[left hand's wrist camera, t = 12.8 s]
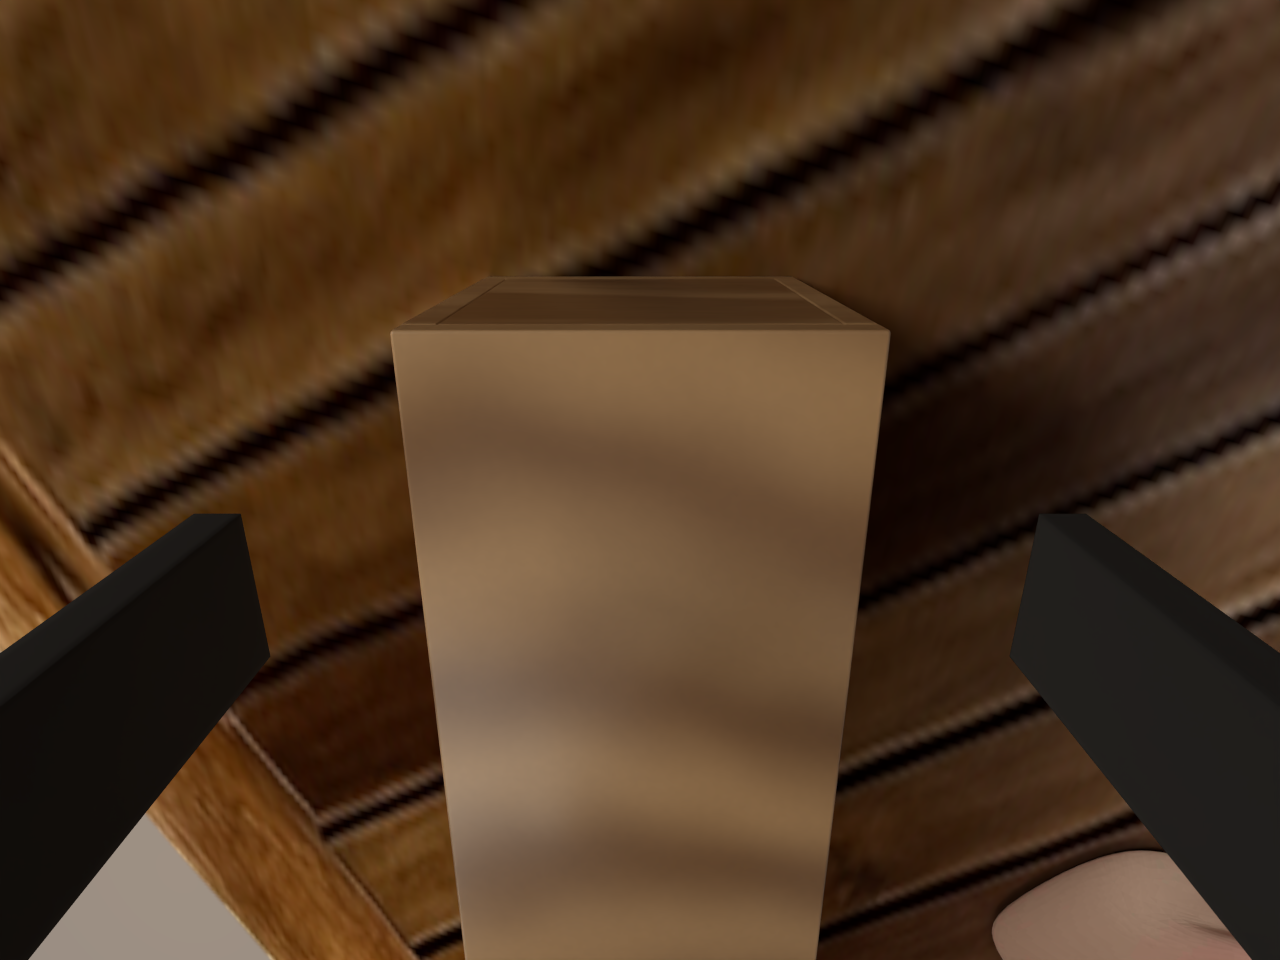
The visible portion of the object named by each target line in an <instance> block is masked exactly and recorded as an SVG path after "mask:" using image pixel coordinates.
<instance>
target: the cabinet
mask: <svg viewBox="0 0 1280 960" xmlns="http://www.w3.org/2000/svg"><path fill="white" fill-rule="evenodd" d="M390 335H391V344H392V352H393V360H394V369H395V377H396V385H397V394H398V402H399V410H400V419H401V427H402V435H403V444H404V452H405V460H406V469H407V477H408V485H409V494H410V502H411V510H412V519H413V527H414V535H415V544H416V552H417V560H418V569H419V577H420V585H421V594H422V602H423V611H424V619H425V627H426V636H427V644H428V652H429V661H430V669H431V677H432V686H433V694H434V702H435V711H436V719H437V727H438V736H439V744H440V752H441V761H442V769H443V777H444V786H445V794H446V802H447V811H448V819H449V827H450V836H451V844H452V852H453V861H454V869H455V877H456V886H457V894H458V903H459V911H460V919H461V928H462V936H463V944H464V953H465V960H816V955H817V947H818V939H819V930H820V922H821V913H822V905H823V897H824V888H825V880H826V871H827V863H828V855H829V846H830V838H831V830H832V821H833V813H834V804H835V796H836V788H837V779H838V771H839V763H840V754H841V746H842V737H843V729H844V721H845V712H846V704H847V696H848V687H849V679H850V670H851V662H852V654H853V645H854V637H855V629H856V620H857V612H858V603H859V595H860V587H861V578H862V570H863V561H864V553H865V545H866V536H867V528H868V520H869V511H870V503H871V494H872V486H873V478H874V469H875V461H876V453H877V444H878V436H879V427H880V419H881V411H882V402H883V394H884V386H885V377H886V369H887V360H888V352H889V344H890V335H891V333H890V330H888V329H886V328H884V327H883V326H881V325H879V324H877V323H875V322H873V321H871V320H870V319H868V318H866V317H864V316H862V315H861V314H859V313H857V312H855V311H853V310H852V309H850V308H848V307H846V306H844V305H843V304H841V303H839V302H837V301H835V300H834V299H832V298H830V297H828V296H826V295H825V294H823V293H821V292H819V291H817V290H816V289H814V288H812V287H810V286H808V285H807V284H805V283H803V282H801V281H799V280H798V279H796V278H794V277H792V276H630V277H487V278H485V279H482V280H481V281H479V282H477V283H475V284H473V285H472V286H470V287H468V288H466V289H464V290H463V291H461V292H459V293H457V294H455V295H454V296H452V297H450V298H448V299H446V300H445V301H443V302H441V303H439V304H437V305H436V306H434V307H432V308H430V309H428V310H427V311H425V312H423V313H421V314H419V315H418V316H416V317H414V318H412V319H410V320H409V321H407V322H405V323H403V324H402V325H401V326H399V327H397V328H395V329H393V330H392V331H391V333H390Z"/></svg>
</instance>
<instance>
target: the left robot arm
mask: <svg viewBox="0 0 1280 960" xmlns="http://www.w3.org/2000/svg"><path fill="white" fill-rule="evenodd" d="M269 657H270V652H269V648H268V643H267V638H266V633H265V628H264V624H263V619H262V614H261V609H260V604H259V600H258V595H257V590H256V585H255V580H254V576H253V571H252V566H251V561H250V556H249V551H248V547H247V542H246V537H245V532H244V527H243V523H242V518H241V514H193V515H192V516H190V517H189V518H188V519H186V520H185V521H183V522H182V523H181V524H179V525H178V526H176V527H175V528H174V529H172V530H171V531H169V532H168V533H167V534H165V535H164V536H163V537H161V538H160V539H158V540H157V541H156V542H154V543H153V544H151V545H150V546H149V547H147V548H146V549H144V550H143V551H142V552H140V553H139V554H138V555H136V556H135V557H133V558H132V559H131V560H129V561H128V562H126V563H125V564H124V565H122V566H121V567H119V568H118V569H117V570H115V571H114V572H112V573H111V574H110V575H108V576H107V577H106V578H104V579H103V580H101V581H100V582H99V583H97V584H96V585H94V586H93V587H92V588H90V589H89V590H87V591H86V592H85V593H83V594H82V595H80V596H79V597H78V598H76V599H75V600H74V601H72V602H71V603H69V604H68V605H67V606H65V607H64V608H62V609H61V610H60V611H58V612H57V613H55V614H54V615H53V616H51V617H50V618H49V619H47V620H46V621H44V622H43V623H42V624H40V625H39V626H37V627H36V628H35V629H33V630H32V631H30V632H29V633H28V634H26V635H25V636H23V637H22V638H21V639H19V640H18V641H17V642H15V643H14V644H12V645H11V646H10V647H8V648H7V649H5V650H4V651H3V652H1V653H0V960H28V959H29V958H30V957H31V956H32V954H33V953H34V952H35V951H36V949H37V948H38V947H39V946H40V944H41V943H42V942H43V941H44V939H45V938H46V937H47V935H48V934H49V933H50V932H51V930H52V929H53V928H54V927H55V925H56V924H57V923H58V922H59V920H60V919H61V918H62V917H63V915H64V914H65V913H66V912H67V910H68V909H69V908H70V907H71V905H72V904H73V903H74V902H75V900H76V899H77V898H78V897H79V895H80V894H81V893H82V892H83V890H84V889H85V888H86V887H87V885H88V884H89V883H90V882H91V880H92V879H93V878H94V877H95V875H96V874H97V873H98V872H99V870H100V869H101V868H102V867H103V865H104V864H105V863H106V862H107V860H108V859H109V858H110V857H111V855H112V854H113V853H114V852H115V850H116V849H117V848H118V847H119V845H120V844H121V843H122V842H123V840H124V839H125V838H126V836H127V835H128V834H129V833H130V832H131V830H132V829H133V828H134V826H135V825H136V824H137V823H138V821H139V820H140V819H141V818H142V816H143V815H144V814H145V813H146V811H147V810H148V809H149V808H150V806H151V805H152V804H153V803H154V801H155V800H156V799H157V798H158V796H159V795H160V794H161V793H162V791H163V790H164V789H165V788H166V786H167V785H168V784H169V783H170V781H171V780H172V779H173V778H174V776H175V775H176V774H177V773H178V771H179V770H180V769H181V768H182V766H183V765H184V764H185V763H186V761H187V760H188V759H189V758H190V756H191V755H192V754H193V753H194V751H195V750H196V749H197V748H198V746H199V745H200V744H201V743H202V741H203V740H204V739H205V738H206V736H207V735H208V734H209V733H210V731H211V730H212V729H213V728H214V726H215V725H216V724H217V723H218V721H219V720H220V719H221V718H222V716H223V715H224V714H225V712H226V711H227V710H228V709H229V707H230V706H231V705H232V704H233V702H234V701H235V700H236V699H237V697H238V696H239V695H240V694H241V692H242V691H243V690H244V689H245V687H246V686H247V685H248V684H249V682H250V681H251V680H252V679H253V677H254V676H255V675H256V674H257V672H258V671H259V670H260V669H261V667H262V666H263V665H264V664H265V662H266V661H267V660H268V659H269ZM1010 657H1011V659H1012V660H1013V661H1014V662H1015V664H1016V665H1017V666H1018V667H1019V669H1020V670H1021V671H1022V672H1023V674H1024V675H1025V676H1026V677H1027V679H1028V680H1029V681H1030V682H1031V684H1032V685H1033V686H1034V687H1035V689H1036V690H1037V691H1038V692H1039V694H1040V695H1041V696H1042V697H1043V699H1044V700H1045V701H1046V702H1047V704H1048V705H1049V706H1050V707H1051V709H1052V710H1053V711H1054V712H1055V714H1056V715H1057V716H1058V718H1059V719H1060V720H1061V721H1062V723H1063V724H1064V725H1065V726H1066V728H1067V729H1068V730H1069V731H1070V733H1071V734H1072V735H1073V736H1074V738H1075V739H1076V740H1077V741H1078V743H1079V744H1080V745H1081V746H1082V748H1083V749H1084V750H1085V751H1086V753H1087V754H1088V755H1089V756H1090V758H1091V759H1092V760H1093V761H1094V763H1095V764H1096V765H1097V766H1098V768H1099V769H1100V770H1101V771H1102V773H1103V774H1104V775H1105V776H1106V778H1107V779H1108V780H1109V781H1110V783H1111V784H1112V785H1113V786H1114V788H1115V789H1116V790H1117V791H1118V793H1119V794H1120V795H1121V796H1122V798H1123V799H1124V800H1125V801H1126V803H1127V804H1128V805H1129V806H1130V808H1131V809H1132V810H1133V811H1134V813H1135V814H1136V815H1137V816H1138V818H1139V819H1140V820H1141V822H1142V823H1143V824H1144V825H1145V827H1146V828H1147V829H1148V830H1149V832H1150V833H1151V834H1152V835H1153V837H1154V838H1155V839H1156V840H1157V842H1158V843H1159V844H1160V845H1161V847H1162V848H1163V849H1164V850H1165V852H1166V853H1167V854H1168V855H1169V857H1170V858H1171V859H1172V860H1173V862H1174V863H1175V864H1176V865H1177V867H1178V868H1179V869H1180V870H1181V872H1182V873H1183V874H1184V875H1185V877H1186V878H1187V879H1188V880H1189V882H1190V883H1191V884H1192V885H1193V887H1194V888H1195V889H1196V890H1197V892H1198V893H1199V894H1200V895H1201V897H1202V898H1203V899H1204V900H1205V902H1206V903H1207V904H1208V905H1209V907H1210V908H1211V909H1212V910H1213V912H1214V913H1215V914H1216V915H1217V917H1218V918H1219V919H1220V921H1221V922H1222V923H1223V924H1224V926H1225V927H1226V928H1227V929H1228V931H1229V932H1230V933H1231V934H1232V936H1233V937H1234V938H1235V939H1236V941H1237V942H1238V943H1239V944H1240V946H1241V947H1242V948H1243V949H1244V951H1245V952H1246V953H1247V954H1248V956H1249V957H1250V958H1251V959H1252V960H1280V653H1279V652H1277V651H1276V650H1275V649H1273V648H1272V647H1270V646H1269V645H1268V644H1266V643H1265V642H1263V641H1262V640H1261V639H1259V638H1258V637H1257V636H1255V635H1254V634H1252V633H1251V632H1250V631H1248V630H1247V629H1245V628H1244V627H1243V626H1241V625H1240V624H1238V623H1237V622H1236V621H1234V620H1233V619H1231V618H1230V617H1229V616H1227V615H1226V614H1225V613H1223V612H1222V611H1220V610H1219V609H1218V608H1216V607H1215V606H1213V605H1212V604H1211V603H1209V602H1208V601H1206V600H1205V599H1204V598H1202V597H1201V596H1200V595H1198V594H1197V593H1195V592H1194V591H1193V590H1191V589H1190V588H1188V587H1187V586H1186V585H1184V584H1183V583H1181V582H1180V581H1179V580H1177V579H1176V578H1174V577H1173V576H1172V575H1170V574H1169V573H1168V572H1166V571H1165V570H1163V569H1162V568H1161V567H1159V566H1158V565H1156V564H1155V563H1154V562H1152V561H1151V560H1149V559H1148V558H1147V557H1145V556H1144V555H1142V554H1141V553H1140V552H1138V551H1137V550H1136V549H1134V548H1133V547H1131V546H1130V545H1129V544H1127V543H1126V542H1124V541H1123V540H1122V539H1120V538H1119V537H1117V536H1116V535H1115V534H1113V533H1112V532H1111V531H1109V530H1108V529H1106V528H1105V527H1104V526H1102V525H1101V524H1099V523H1098V522H1097V521H1095V520H1094V519H1092V518H1091V517H1090V516H1088V515H1087V514H1039V518H1038V523H1037V527H1036V532H1035V537H1034V542H1033V547H1032V551H1031V556H1030V561H1029V566H1028V571H1027V576H1026V580H1025V585H1024V590H1023V595H1022V600H1021V604H1020V609H1019V614H1018V619H1017V624H1016V628H1015V633H1014V638H1013V643H1012V648H1011V652H1010Z"/></svg>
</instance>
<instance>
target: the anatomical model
mask: <svg viewBox="0 0 1280 960" xmlns="http://www.w3.org/2000/svg"><path fill="white" fill-rule="evenodd" d="M992 935H993V940H994V943H995V945H996V948H997V950H998V952H999V954H1000V956H1001V957H1002V959H1003V960H1252V959H1251V958H1250V957H1249V956H1248V954H1247V953H1246V952H1245V951H1244V949H1243V948H1242V947H1241V946H1240V944H1239V943H1238V942H1237V941H1236V939H1235V938H1234V937H1233V936H1232V934H1231V933H1230V932H1229V931H1228V929H1227V928H1226V927H1225V926H1224V924H1223V923H1222V922H1221V921H1220V919H1219V918H1218V917H1217V915H1216V914H1215V913H1214V912H1213V910H1212V909H1211V908H1210V907H1209V905H1208V904H1207V903H1206V902H1205V900H1204V899H1203V898H1202V897H1201V895H1200V894H1199V893H1198V892H1197V890H1196V889H1195V888H1194V887H1193V885H1192V884H1191V883H1190V882H1189V880H1188V879H1187V878H1186V877H1185V875H1184V874H1183V873H1182V872H1181V870H1180V869H1179V868H1178V867H1177V865H1176V864H1175V863H1174V862H1173V860H1172V859H1171V858H1170V857H1169V855H1168V854H1167V853H1163V852H1156V851H1126V852H1120V853H1114V854H1110V855H1107V856H1103V857H1099V858H1097V859H1094V860H1091V861H1089V862H1086V863H1083V864H1081V865H1078V866H1076V867H1074V868H1072V869H1069V870H1067V871H1065V872H1063V873H1061V874H1059V875H1057V876H1055V877H1053V878H1051V879H1049V880H1048V881H1046V882H1044V883H1042V884H1040V885H1039V886H1037V887H1035V888H1034V889H1032V890H1030V891H1028V892H1027V893H1025V894H1024V895H1022V896H1021V897H1019V898H1018V899H1017V900H1015V901H1014V902H1012V903H1011V904H1009V905H1008V906H1007V907H1006V908H1005V909H1004V910H1003V911H1002V912H1001V913H1000V914H999V915H998V916H997V918H996V920H995V921H994V924H993V927H992Z"/></svg>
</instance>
